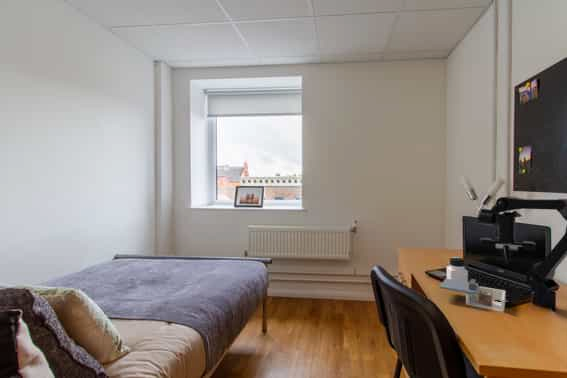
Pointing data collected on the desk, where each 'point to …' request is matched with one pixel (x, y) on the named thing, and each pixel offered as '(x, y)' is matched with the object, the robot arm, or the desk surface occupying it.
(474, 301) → the box
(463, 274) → the medicine bottle
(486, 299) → the letter cube
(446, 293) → the desk surface
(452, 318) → the desk surface
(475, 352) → the desk surface
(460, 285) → the slate lid
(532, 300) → the robot arm
